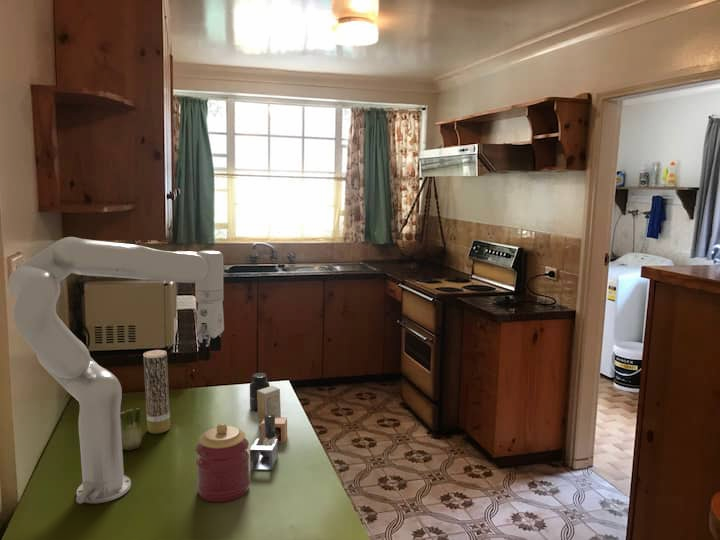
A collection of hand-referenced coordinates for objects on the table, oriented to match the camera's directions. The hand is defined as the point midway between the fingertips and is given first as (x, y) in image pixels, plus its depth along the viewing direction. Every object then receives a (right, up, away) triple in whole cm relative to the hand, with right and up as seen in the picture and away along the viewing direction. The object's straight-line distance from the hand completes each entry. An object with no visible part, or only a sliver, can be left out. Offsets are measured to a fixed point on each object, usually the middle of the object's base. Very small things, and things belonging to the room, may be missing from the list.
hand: (210, 355), depth 162 cm
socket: (+16, -27, +13) cm, 34 cm away
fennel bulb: (-25, -29, +6) cm, 38 cm away
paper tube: (-21, -27, +19) cm, 39 cm away
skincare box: (+13, -26, +23) cm, 37 cm away
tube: (+16, -29, +6) cm, 33 cm away
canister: (+8, -32, -16) cm, 36 cm away
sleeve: (+16, -30, -2) cm, 34 cm away
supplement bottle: (+8, -24, +37) cm, 45 cm away
